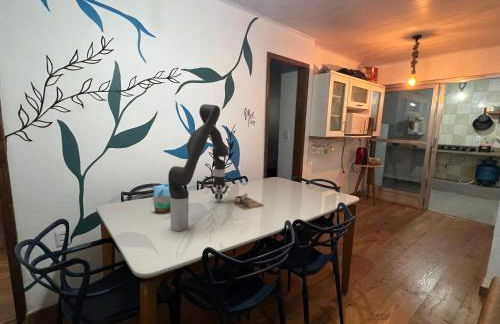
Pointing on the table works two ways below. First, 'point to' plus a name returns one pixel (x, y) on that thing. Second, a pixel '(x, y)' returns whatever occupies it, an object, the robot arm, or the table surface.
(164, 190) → the light blue lumpy mass
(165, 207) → the food container
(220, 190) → the hinge pin
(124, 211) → the table surface
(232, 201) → the mounting board
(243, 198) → the hinge
